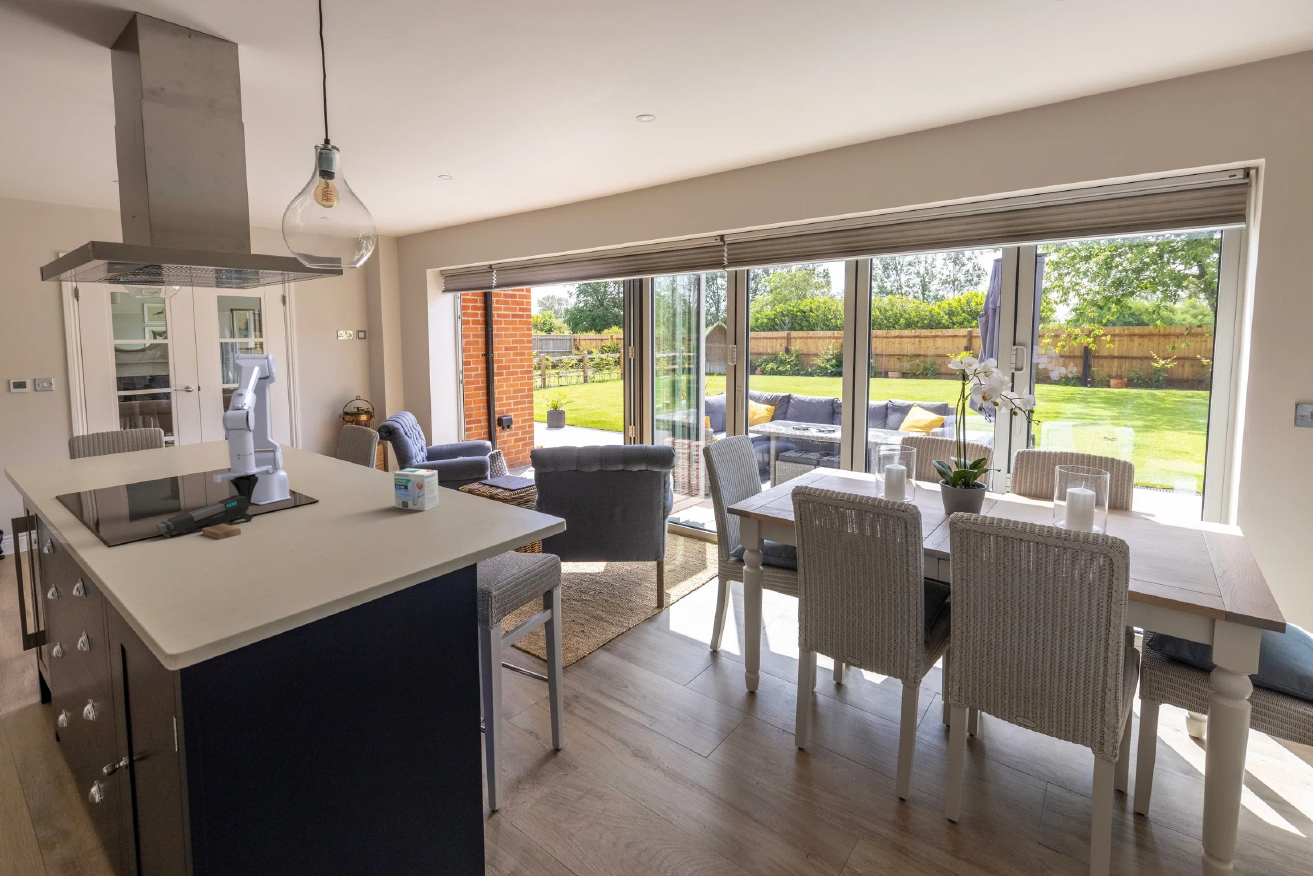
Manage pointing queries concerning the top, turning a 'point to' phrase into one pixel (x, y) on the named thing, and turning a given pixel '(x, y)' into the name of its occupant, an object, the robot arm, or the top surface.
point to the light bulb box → (416, 489)
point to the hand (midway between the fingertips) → (246, 503)
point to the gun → (207, 516)
